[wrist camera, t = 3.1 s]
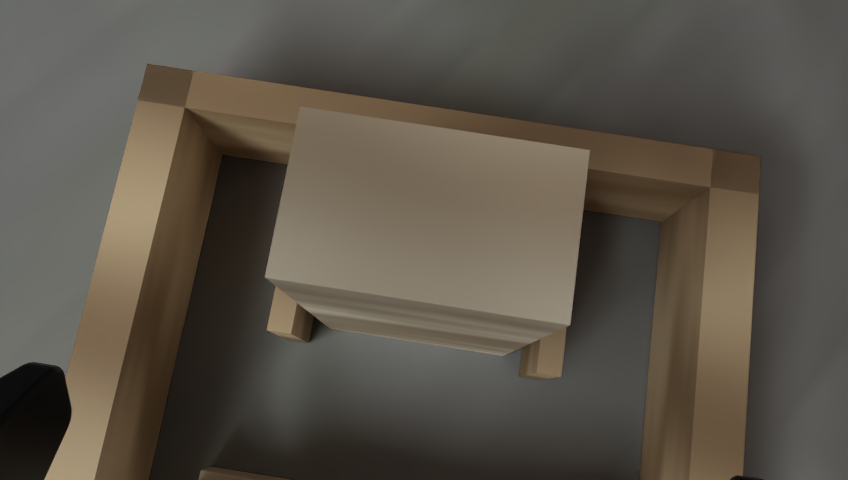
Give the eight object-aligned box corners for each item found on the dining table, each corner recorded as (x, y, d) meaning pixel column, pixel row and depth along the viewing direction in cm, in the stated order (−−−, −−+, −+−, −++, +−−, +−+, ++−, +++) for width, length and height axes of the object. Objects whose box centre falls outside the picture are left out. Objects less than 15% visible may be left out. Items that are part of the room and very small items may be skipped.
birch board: (503, 356, 20) (570, 325, 12) (329, 328, 20) (264, 277, 12) (516, 253, 21) (590, 150, 12) (348, 227, 21) (300, 106, 12)
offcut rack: (666, 706, 18) (725, 780, 15) (72, 607, 19) (-7, 656, 15) (704, 196, 21) (761, 156, 18) (190, 117, 22) (147, 63, 18)
